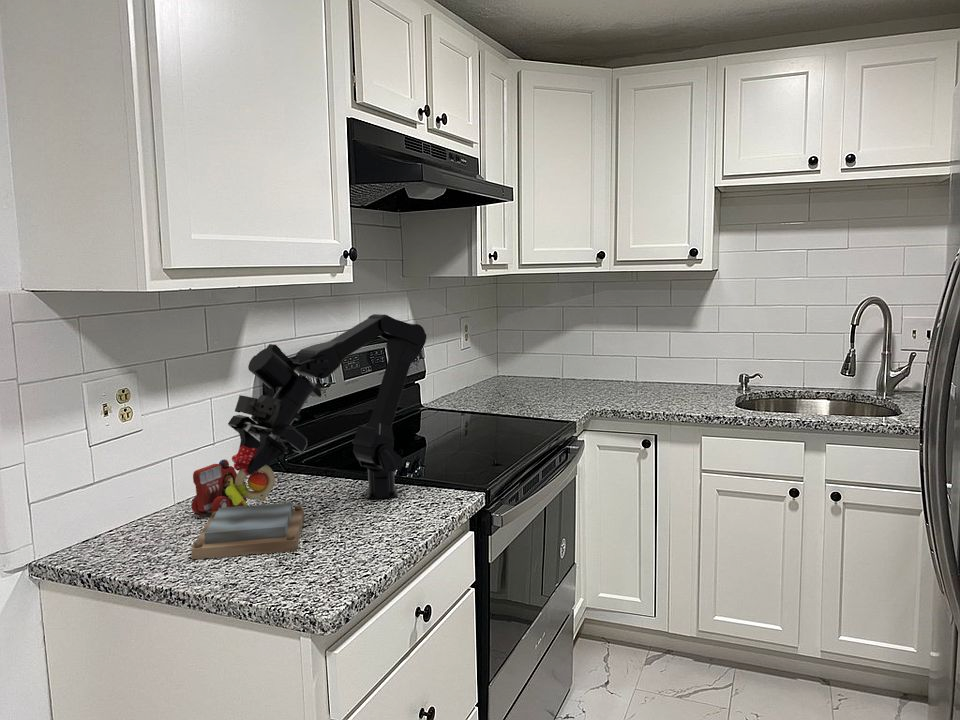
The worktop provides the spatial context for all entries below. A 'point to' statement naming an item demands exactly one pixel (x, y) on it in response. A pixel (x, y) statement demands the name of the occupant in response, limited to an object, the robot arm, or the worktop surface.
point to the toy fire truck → (213, 487)
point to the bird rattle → (249, 479)
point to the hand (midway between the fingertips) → (242, 471)
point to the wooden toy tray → (250, 531)
